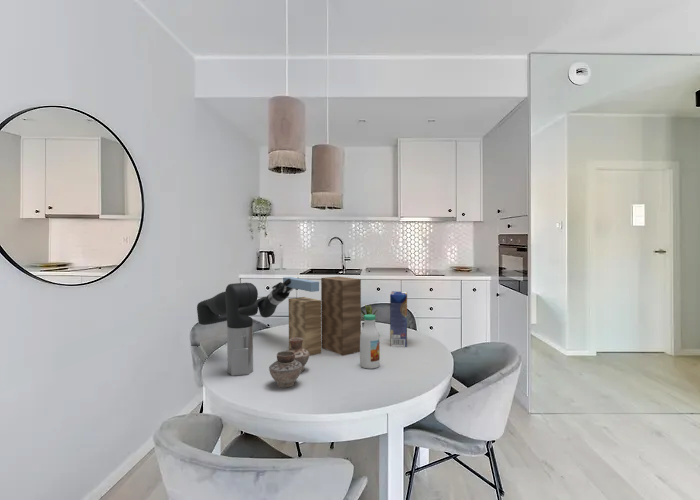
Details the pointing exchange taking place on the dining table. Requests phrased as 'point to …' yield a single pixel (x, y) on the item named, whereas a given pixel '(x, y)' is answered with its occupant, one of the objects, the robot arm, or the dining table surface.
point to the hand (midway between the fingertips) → (294, 279)
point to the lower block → (306, 323)
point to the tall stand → (341, 314)
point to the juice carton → (398, 319)
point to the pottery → (289, 363)
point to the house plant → (367, 312)
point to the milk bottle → (369, 343)
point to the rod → (303, 284)
